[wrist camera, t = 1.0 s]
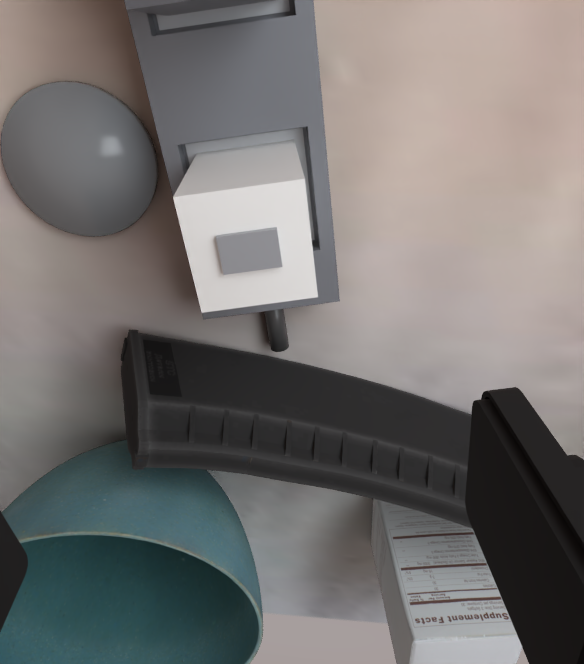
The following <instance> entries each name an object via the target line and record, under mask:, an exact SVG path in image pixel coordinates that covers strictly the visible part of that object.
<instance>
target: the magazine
mask: <svg viewBox="0 0 584 664" xmlns="http://www.w3.org/2000/svg"><path fill="white" fill-rule="evenodd" d="M121 361H122V366H121V376H122V387H123V399H124V411H125V423H126V435H127V446H128V450H129V452H130V454H131V459H132V469H133V470H143V469H144V467H145V468H190V469H203V470H216V471H225V472H233V473H241V474H248V475H254V476H259V477H264V478H270V479H275V480H281V481H287V482H293V483H299V484H305V485H310V486H316V487H322V488H327V489H333V490H338V491H342V492H347V493H351V494H356V495H360V496H365V497H369V498H372V499H376V500H380V501H384V502H387V503H391V504H395V505H399V506H402V507H406V508H410V509H413V510H417V511H420V512H424V513H427V514H430V515H433V516H436V517H439V518H442V519H445V520H448V521H451V522H454V523H457V524H460V525H463V526H466V527H469V528H472V526H471V524H470V521H469V518H468V515H467V511H466V506H465V494H466V481H467V468H468V456H469V443H470V430H471V417H472V415H470V414H467V413H464V412H461V411H459V410H456V409H453V408H450V407H447V406H444V405H442V404H439V403H436V402H433V401H430V400H428V399H425V398H422V397H419V396H416V395H413V394H410V393H407V392H404V391H401V390H397V389H394V388H391V387H388V386H385V385H381V384H378V383H374V382H371V381H367V380H364V379H361V378H357V377H353V376H349V375H345V374H341V373H337V372H334V371H330V370H326V369H321V368H317V367H313V366H309V365H305V364H301V363H296V362H291V361H287V360H282V359H278V358H273V357H268V356H263V355H258V354H253V353H248V352H243V351H237V350H232V349H226V348H220V347H215V346H209V345H204V344H198V343H192V342H187V341H181V340H175V339H170V338H164V337H159V336H153V335H147V334H142V333H138V330H129V332H128V337H127V338H125V340H124V345H123V349H122V354H121ZM472 529H473V528H472Z"/></svg>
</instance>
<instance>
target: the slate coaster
mask: <svg viewBox="0 0 584 664" xmlns="http://www.w3.org/2000/svg"><path fill="white" fill-rule="evenodd" d="M1 155H2V160H3V165H4V168H5V171H6V174H7V176H8V178H9V181H10V183H11V185H12V186H13V188H14V190H15V191H16V193H17V194H18V196H19V197H20V198H21V200H22V201H23V202H24V203H25V204H26V205H27V206H28V207H29V208H30V209H31V210H32V211H33V212H34V213H35V214H36V215H37V216H39V217H40V218H41V219H43V220H44V221H46V222H47V223H49V224H51V225H53V226H55V227H56V228H59V229H61V230H64V231H66V232H69V233H73V234H77V235H83V236H105V235H109V234H113V233H116V232H119V231H121V230H123V229H125V228H127V227H129V226H130V225H132V224H133V223H134V222H136V221H137V220H138V219H139V218H140V217H141V216H142V214H143V213H144V212H145V210H146V209H147V207H148V206H149V204H150V202H151V200H152V198H153V196H154V193H155V190H156V186H157V180H158V163H157V157H156V152H155V149H154V146H153V143H152V140H151V138H150V136H149V134H148V132H147V130H146V128H145V127H144V125H143V124H142V122H141V121H140V120H139V118H138V117H137V116H136V114H135V113H134V112H133V111H132V110H131V109H130V108H129V107H128V106H127V105H126V104H124V103H123V102H122V101H121V100H120V99H118V98H117V97H115V96H114V95H112V94H110V93H109V92H107V91H105V90H103V89H101V88H98V87H96V86H93V85H90V84H86V83H81V82H73V81H62V82H54V83H50V84H45V85H42V86H39V87H37V88H34V89H32V90H31V91H29V92H27V93H26V94H24V95H23V96H22V97H21V98H20V99H19V100H18V101H17V102H16V103H15V104H14V105H13V107H12V108H11V110H10V111H9V113H8V115H7V117H6V119H5V122H4V125H3V129H2V134H1Z"/></svg>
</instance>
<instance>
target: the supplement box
mask: <svg viewBox="0 0 584 664" xmlns="http://www.w3.org/2000/svg"><path fill="white" fill-rule="evenodd" d="M371 547H372V551H373V556H374V560H375V565H376V570H377V574H378V579H379V583H380V588H381V593H382V598H383V602H384V607H385V612H386V616H387V621H388V626H389V630H390V635H391V640H392V644H393V649H394V654H395V658H396V663H397V664H517V661H518V658H519V655H520V652H521V650H522V645H521V643H520V640H519V638H518V636H517V633H516V631H515V628H514V626H513V624H512V621H511V619H510V617H509V614H508V612H507V609H506V607H505V605H504V602H503V600H502V597H501V595H500V593H499V590H498V588H497V586H496V583H495V581H494V578H493V576H492V574H491V571H490V569H489V566H488V564H487V562H486V559H485V557H484V555H483V552H482V550H481V547H480V545H479V543H478V540H477V538H476V535H475V533H474V531H473V529H472V528H469V527H466V526H463V525H460V524H457V523H454V522H451V521H448V520H445V519H442V518H439V517H436V516H433V515H430V514H427V513H424V512H420V511H417V510H413V509H410V508H406V507H402V506H399V505H395V504H391V503H387V502H384V501H380V500H376V499H373V513H372V532H371Z"/></svg>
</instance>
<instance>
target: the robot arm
mask: <svg viewBox="0 0 584 664" xmlns="http://www.w3.org/2000/svg"><path fill="white" fill-rule="evenodd" d="M465 506H466V511H467V515H468V518H469V521H470V524H471V526H472V528H473V531H474V533H475V535H476V538H477V540H478V543H479V545H480V547H481V550H482V552H483V555H484V557H485V559H486V562H487V564H488V566H489V569H490V571H491V574H492V576H493V578H494V581H495V583H496V586H497V588H498V590H499V593H500V595H501V597H502V600H503V602H504V605H505V607H506V609H507V612H508V614H509V617H510V619H511V621H512V624H513V626H514V628H515V631H516V633H517V636H518V638H519V640H520V643H521V645H522V648H523V650H524V652H525V654H526V657H527V659H528V662H529V664H584V460H583V459H582V458H580V457H578V456H576V455H568V456H567V455H566V453H565V452H564V450H563V449H562V448H561V446H560V445H559V443H558V442H557V441H556V439H555V438H554V436H553V435H552V434H551V432H550V431H549V429H548V428H547V427H546V425H545V424H544V422H543V421H542V420H541V418H540V417H539V415H538V414H537V413H536V411H535V410H534V408H533V407H532V406H531V404H530V403H529V401H528V400H527V399H526V397H525V396H524V394H523V393H522V392H521V391H520V390H519V389H518V388H516V387H514V388H506V389H498V390H490V391H485V392H483V394H482V398H481V400H475V401H474V402H473V406H472V417H471V430H470V443H469V456H468V468H467V481H466V494H465ZM27 567H28V557H27V554H26V552H25V550H24V549H23V547H22V545H21V544H20V542H19V540H18V539H17V537H16V536H15V534H14V532H13V531H12V529H11V527H10V526H9V524H8V523H7V521H6V519H5V518H4V516H3V514H2V513H1V511H0V632H1V630H2V627H3V625H4V623H5V620H6V618H7V616H8V614H9V611H10V609H11V607H12V604H13V602H14V600H15V598H16V595H17V593H18V591H19V588H20V586H21V584H22V582H23V579H24V577H25V575H26V572H27Z"/></svg>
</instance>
